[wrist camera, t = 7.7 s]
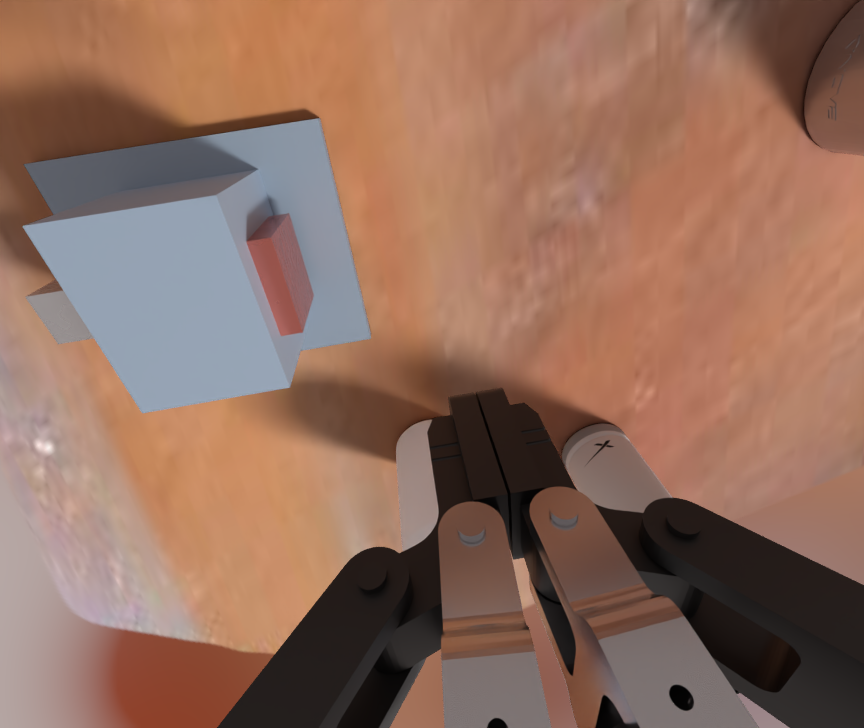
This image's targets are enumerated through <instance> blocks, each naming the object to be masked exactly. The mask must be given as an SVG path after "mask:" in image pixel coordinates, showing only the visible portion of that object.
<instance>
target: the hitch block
mask: <svg viewBox="0 0 864 728" xmlns="http://www.w3.org/2000/svg"><path fill="white" fill-rule="evenodd" d="M24 166H25V168H26V169H27V171H28V173H29V174H30V176H31V178H32V179H33V181H34V183H35V184H36V186H37V188H38V189H39V191H40V193H41V194H42V196H43V198H44V199H45V201H46V203H47V205H48V206H49V208H50V210H51V211H52V213H53V215H52V216H49V217H46V218H43V219H41V220H38V221H35V222H32V223H29V224H27V225H24V226H22V227H23V228H24V230H25V231H26V233H27V235H28V236H29V238H30V239H31V241H32V242H33V244H34V245H35V247H36V249H37V250H38V252H39V253H40V255H41V256H42V258H43V259H44V261H45V263H46V264H47V266H48V267H49V269H50V270H51V272H52V273H53V275H54V277H55V278H56V280H57V281H58V283H59V284H60V286H61V287H62V289H63V291H64V292H65V294H66V295H67V297H68V298H69V300H70V301H71V303H72V305H73V306H74V308H75V309H76V311H77V312H78V314H79V315H80V317H81V319H82V320H83V322H84V323H85V325H86V326H87V328H88V329H89V331H90V333H91V334H92V336H93V337H94V339H95V340H96V342H97V343H98V345H99V347H100V348H101V350H102V351H103V353H104V354H105V356H106V357H107V359H108V361H109V362H110V364H111V365H112V367H113V368H114V370H115V371H116V373H117V375H118V376H119V378H120V379H121V381H122V382H123V384H124V385H125V387H126V389H127V390H128V392H129V393H130V395H131V396H132V398H133V399H134V401H135V403H136V404H137V406H138V407H139V409H140V410H141V412H142V413H147V412H152V411H158V410H164V409H169V408H175V407H181V406H187V405H192V404H198V403H204V402H210V401H215V400H221V399H227V398H233V397H238V396H244V395H250V394H255V393H261V392H267V391H273V390H278V389H284V388H290V386H291V382H292V379H293V375H294V372H295V369H296V365H297V362H298V358H299V355H300V351H302V350H308V349H314V348H320V347H325V346H331V345H337V344H343V343H349V342H355V341H360V340H366V339H371V332H370V327H369V323H368V319H367V315H366V311H365V306H364V302H363V298H362V294H361V289H360V285H359V281H358V277H357V273H356V268H355V264H354V260H353V256H352V251H351V247H350V243H349V239H348V235H347V230H346V226H345V222H344V218H343V213H342V209H341V205H340V201H339V197H338V192H337V188H336V184H335V180H334V175H333V171H332V167H331V163H330V159H329V154H328V150H327V146H326V142H325V137H324V133H323V129H322V125H321V121H320V118H316V119H310V120H303V121H297V122H290V123H284V124H277V125H271V126H265V127H258V128H252V129H245V130H239V131H233V132H226V133H220V134H213V135H207V136H200V137H194V138H188V139H181V140H175V141H168V142H162V143H155V144H149V145H143V146H136V147H130V148H123V149H117V150H111V151H104V152H98V153H91V154H85V155H78V156H72V157H66V158H59V159H53V160H46V161H40V162H34V163H28V164H24ZM287 213H289V214H290V217H291V221H292V224H293V227H294V231H295V234H296V237H297V241H298V244H299V247H300V251H301V254H302V257H303V260H304V264H305V267H306V270H307V274H308V277H309V280H310V284H311V287H312V290H313V293H314V297H313V300H312V304H311V307H310V310H309V314H308V317H307V320H306V324H305V327H304V330H303V333H297V334H291V335H285V336H281V335H280V332H279V330H278V327H277V324H276V321H275V319H274V316H273V313H272V311H271V308H270V305H269V302H268V300H267V297H266V294H265V292H264V289H263V286H262V283H261V281H260V278H259V275H258V273H257V270H256V267H255V264H254V262H253V259H252V256H251V254H250V251H249V248H248V245H247V243H246V241H247V240H248V239H249V238H250V237H251V236H252V235H253V233H254V232H255V231H256V230H257V229H258V228H259V227H260V226H261V224H262V223H263V222H264V221H265V220H266V219H267V218H268V217H269V216H274V215H280V214H287Z"/></svg>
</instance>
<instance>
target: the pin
mask: <svg viewBox="0 0 864 728" xmlns="http://www.w3.org/2000/svg"><path fill="white" fill-rule="evenodd" d="M246 243H247V245H248V248H249V251H250V254H251V256H252V259H253V262H254V264H255V267H256V270H257V273H258V275H259V278H260V281H261V283H262V286H263V289H264V292H265V294H266V297H267V300H268V302H269V305H270V308H271V311H272V313H273V316H274V319H275V321H276V324H277V327H278V330H279V332H280V335H281V336H285V335H291V334H297V333H303V330H304V327H305V324H306V320H307V317H308V314H309V310H310V307H311V304H312V300H313V297H314V293H313V290H312V287H311V284H310V280H309V277H308V274H307V270H306V267H305V264H304V260H303V257H302V254H301V251H300V247H299V244H298V241H297V237H296V234H295V231H294V227H293V224H292V221H291V217H290V214H289V213H287V214H280V215H274V216H269V217H268V218H267V219H266V220H265V221H264V222H263V223H262V224H261V226H260V227H259V228H258V229H257V230H256V231H255V232H254V233H253V235H252V236H251V237H250V238H249V239H248V240H247V241H246ZM26 299H27V300H28V302H29V303H30V304H31V306H32V307H33V309H34V310H35V312H36V313H37V314H38V316H39V317H40V319H41V320H42V322H43V323H44V324H45V326H46V327H47V329H48V330H49V332H50V333H51V334H52V336H53V337H54V339H55V340H56V342H57V343H58V344H62V343H68V342H74V341H80V340H86V339H92V338H94V337H93V336H92V334H91V333H90V331H89V329H88V328H87V326H86V325H85V323H84V322H83V320H82V319H81V317H80V315H79V314H78V312H77V311H76V309H75V308H74V306H73V305H72V303H71V301H70V300H69V298H68V297H67V295H66V294H65V292H64V291H63V289H62V287H61V286H60V284H59V283H58V281H57V280H54V281H52V282H51V283H49V284H47V285H45V286H43V287H42V288H40V289H38V290H36V291H35V292H33V293H31V294H29V295H28V296H26Z"/></svg>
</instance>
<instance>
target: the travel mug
mask: <svg viewBox="0 0 864 728" xmlns="http://www.w3.org/2000/svg"><path fill="white" fill-rule="evenodd" d="M562 460H563V463H564V465H565V467H566V469H567V471H568V472H569V474H570V476H571V478H572V480H573V482H574V484H575V486H576V488H577V490H578V491H579V492H581V493H583V494H584V495H586V496H587V497H588V498H589V499H590V500H592V502H593V503H595V504H597V505H599V506H602V507H605V508H608V509H614V510H622V511H631V512H640V513H644V510H645V508H646V507H647V506H648V505H649V504H650V503H651V502H653V501H655V500H657V499H661V498H673V497H672V496H671V495H670V493H669V492H668V491H667V489H666V488H665V487H664V485H663V484H662V483H661V481H660V480H659V479H658V477H657V476H656V475H655V474H654V472H653V471H652V470H651V468H650V467H649V466H648V464H647V463H646V462H645V460H644V459H643V458H642V456H641V455H640V454H639V452H638V451H637V450H636V448H635V447H634V446H633V444H632V443H631V442H630V440H629V439H628V438H627V436H626V435H625V434H624V432H623V431H622V430H621V429H620V428H618V427H616V426H614V425H610V424H595V425H591V426H588V427H585V428H583V429H581V430H580V431H578V432H577V433H575V434H574V435H573V436H572V437H571V438H570V439H569V440H568V441H567V443H566V444H565V446H564V448H563V452H562ZM732 688H733V687H732ZM733 689H734V688H733ZM734 691H735V692H736V694H739V693H740V692H738V691H737V690H736V689H734Z"/></svg>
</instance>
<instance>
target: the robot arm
mask: <svg viewBox="0 0 864 728" xmlns="http://www.w3.org/2000/svg"><path fill="white" fill-rule="evenodd" d="M804 116H805V121H806V126H807V130H808V132H809V134H810V136H811V137H812V139H813V141H814V142H816V143H817V144H818V145H819V146H820V147H821V148H823V149H826V150H828V151H831V152H836V153H844V154H852V155H861V156H864V0H860V1H859V2H858V3H857V4H856V5H855V6H854V7H853V8H852V9H851V10H850V11H849V12H848V14H847V15H846V16H845V17H844V18H843V19H842V20H841V21H840V23H839V24H838V25H837V27H836V28H835V30H834V31H833V33H832V34H831V35H830V37H829V38H828V40H827V41H826V43H825V45H824V47H823V49H822V51H821V52H820V54H819V56H818V58H817V60H816V62H815V65H814V67H813V70H812V73H811V76H810V78H809V81H808V86H807V91H806V95H805V107H804ZM448 400H449V408H450V415H449V416H443V417H437V418H433V419H432V422H431V424H430V426H429V429H428V431H427V435H428V442H429V448H430V455H431V462H432V469H433V475H434V482H435V489H436V496H437V502H438V511H439V514H438V519H437V523H436V525H435V527H434V529H433V530H432V532H431V533H430V534H429V535H428V536H427V537H426V538H425V539H424V540H423V541H421V542H420V543H418V544H417V545H415V546H413V547H411V548H409V549H407V550H405V551H403V552H401V553H398V552H396V551H395V550H392V549H390V548H386V547H373V548H369V549H366V550H364V551H362V552H360V553H358V554H357V555H355V556H354V557H353V558H351V559H350V560H349V562H348V563H347V564H346V565H345V566H344V567H343V569H342V570H341V571H340V573H339V574H338V575H337V576H336V578H335V579H334V580H333V581H332V583H331V584H330V585H329V587H328V588H327V589H326V590H325V592H324V593H323V594H322V595H321V597H320V598H319V599H318V600H317V602H316V603H315V604H314V606H313V607H312V608H311V609H310V611H309V612H308V613H307V614H306V616H305V617H304V618H303V619H302V621H301V622H300V623H299V625H298V626H297V627H296V628H295V630H294V631H293V632H292V633H291V635H290V636H289V637H288V638H287V640H286V641H285V642H284V644H283V645H282V646H281V647H280V649H279V650H278V651H277V652H276V654H275V655H274V656H273V658H272V659H271V660H270V661H269V663H268V664H267V665H266V666H265V668H264V669H263V670H262V672H261V673H260V674H259V675H258V677H257V678H256V679H255V680H254V682H253V683H252V684H251V685H250V687H249V688H248V689H247V691H246V692H245V693H244V694H243V696H242V697H241V698H240V699H239V701H238V702H237V703H236V704H235V706H234V707H233V708H232V710H231V711H230V712H229V713H228V715H227V716H226V717H225V718H224V720H223V721H222V722H221V723H220V725H219V726H218V727H217V728H389V727H390V726H391V724H392V722H393V720H394V718H395V716H396V714H397V713H398V711H399V709H400V707H401V705H402V703H403V701H404V700H405V698H406V696H407V694H408V692H409V690H410V688H411V686H412V685H413V683H414V681H415V679H416V677H417V675H418V673H419V672H420V670H421V668H422V666H423V664H424V662H425V659H426V658H427V657H428V656H430V655H431V654H433V653H435V652H436V651H438V650H440V649H441V659H442V681H443V701H444V724H445V728H551V724H550V719H549V715H548V710H547V705H546V701H545V696H544V692H543V687H542V682H541V677H540V673H539V668H538V663H537V659H536V655H535V650H534V645H533V641H532V637H531V633H530V630H529V627H528V626H527V625H526V623H525V619H524V615H523V610H522V605H521V600H520V596H519V591H518V586H517V581H516V576H515V571H514V567H513V562H512V557H513V559H519V558H525V562H526V565H527V568H528V571H529V584H530V590H531V594H532V596H533V599H534V601H535V604H536V606H537V609H538V611H539V614H540V617H541V619H542V622H543V624H544V626H545V629H546V632H547V635H548V637H549V640H550V642H551V645H552V647H553V650H554V652H555V655H556V658H557V660H558V663H559V665H560V668H561V670H562V673H563V676H564V679H565V681H566V685H567V688H568V692H569V697H570V702H571V706H572V710H573V714H574V718H575V721H576V724H577V727H578V728H759V727H758V725H757V724H756V722H755V721H754V719H753V718H752V716H751V715H750V713H749V712H748V710H747V709H746V707H745V706H744V704H743V703H742V701H741V700H740V698H739V697H738V695H737V694H736V692H735V691H734V689H736V690H737V691H738V692H740V693H742V694H743V695H744V696H746V697H747V698H748V699H750V700H751V701H753V702H754V703H755V704H757V705H759V706H760V707H761V708H763V709H764V710H766V711H767V712H768V713H770V714H771V715H773V716H774V717H775V718H777V719H778V720H780V721H781V722H782V723H784V724H786V725H787V726H788V727H790V728H864V585H862V584H860V583H858V582H856V581H854V580H852V579H850V578H848V577H845V576H843V575H841V574H839V573H837V572H835V571H833V570H831V569H829V568H827V567H825V566H823V565H821V564H819V563H817V562H814V561H812V560H810V559H808V558H806V557H804V556H802V555H800V554H798V553H796V552H794V551H792V550H790V549H788V548H786V547H784V546H782V545H779V544H777V543H775V542H773V541H771V540H769V539H767V538H765V537H763V536H761V535H759V534H757V533H755V532H753V531H751V530H748V529H746V528H744V527H742V526H740V525H738V524H736V523H734V522H732V521H730V520H728V519H726V518H724V517H722V516H720V515H717V514H715V513H713V512H711V511H709V510H707V509H705V508H703V507H701V506H699V505H697V504H695V503H692V502H690V501H687V500H683V499H679V498H661V499H657V500H655V501H653V502H651V503H650V504H649V505H648V506H647V507H646V508H645V510H644V513H640V512H631V511H622V510H614V509H608V508H605V507H602V506H599V505H597V504H595V503H593V502H592V500H590V499H589V498H588V497H587V496H586V495H584V494H583V493H581V492H579V491H578V490H577V489H576V487H575V486H574V484H573V482H572V480H571V478H570V476H569V474H568V472H567V470H566V468H565V466H564V464H563V462H562V460H561V458H560V456H559V454H558V452H557V450H556V449H555V447H554V445H553V443H552V442H551V439H550V437H549V435H548V433H547V431H546V430H545V427H544V425H543V423H542V421H541V419H540V417H539V415H538V413H537V412H535V411H534V410H533V409H531V408H530V407H529V406H528V405H526V404H525V403H520V404H514V405H510V404H509V402H508V400H507V397H506V395H505V393H504V390H503V389H502V388H498V389H492V390H486V391H480V392H476V393H468V394H462V395H456V396H450V397H448ZM510 550H511V552H510ZM511 554H512V557H511ZM732 687H733V688H734V689H733V688H732ZM673 703H674V704H673Z"/></svg>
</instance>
